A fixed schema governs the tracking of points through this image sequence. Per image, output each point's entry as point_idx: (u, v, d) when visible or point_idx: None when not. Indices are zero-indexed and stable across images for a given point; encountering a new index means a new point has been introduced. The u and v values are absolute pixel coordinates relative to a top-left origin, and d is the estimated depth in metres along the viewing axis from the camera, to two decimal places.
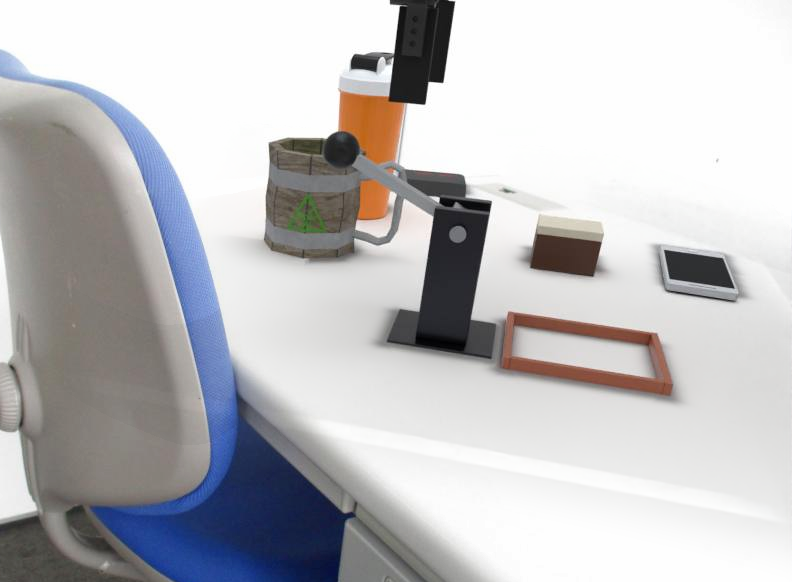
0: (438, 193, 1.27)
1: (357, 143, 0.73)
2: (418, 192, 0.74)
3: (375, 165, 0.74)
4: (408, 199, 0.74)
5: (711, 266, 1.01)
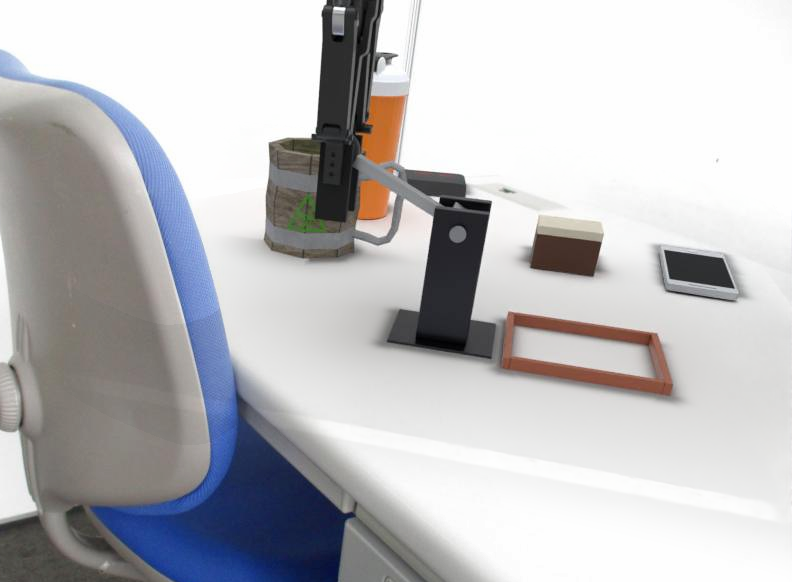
0: (438, 193, 1.27)
1: (357, 143, 0.73)
2: (418, 192, 0.74)
3: (375, 165, 0.74)
4: (408, 199, 0.74)
5: (711, 266, 1.01)
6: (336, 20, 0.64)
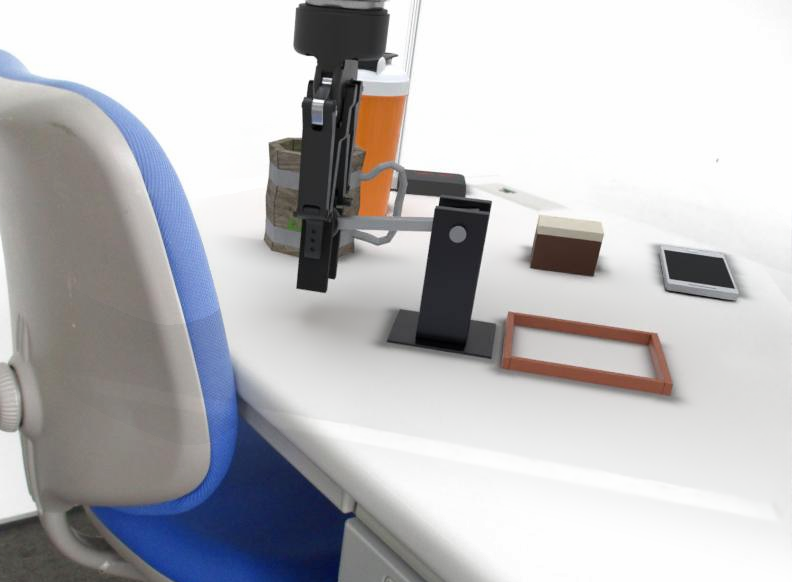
0: (438, 193, 1.27)
1: None
2: (407, 218, 0.75)
3: (357, 217, 0.76)
4: (401, 229, 0.75)
5: (711, 266, 1.01)
6: (315, 112, 0.67)
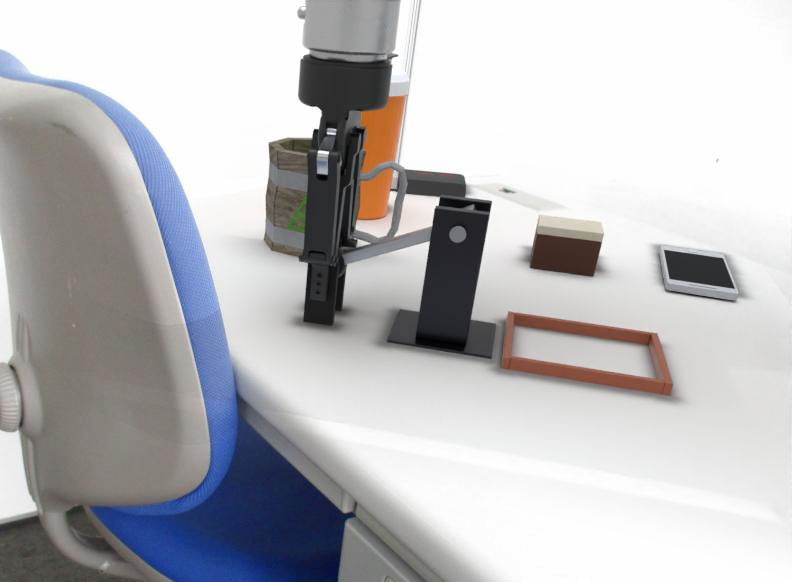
0: (438, 193, 1.27)
1: None
2: (407, 234, 0.76)
3: (360, 248, 0.77)
4: (405, 246, 0.76)
5: (711, 266, 1.01)
6: (320, 162, 0.69)
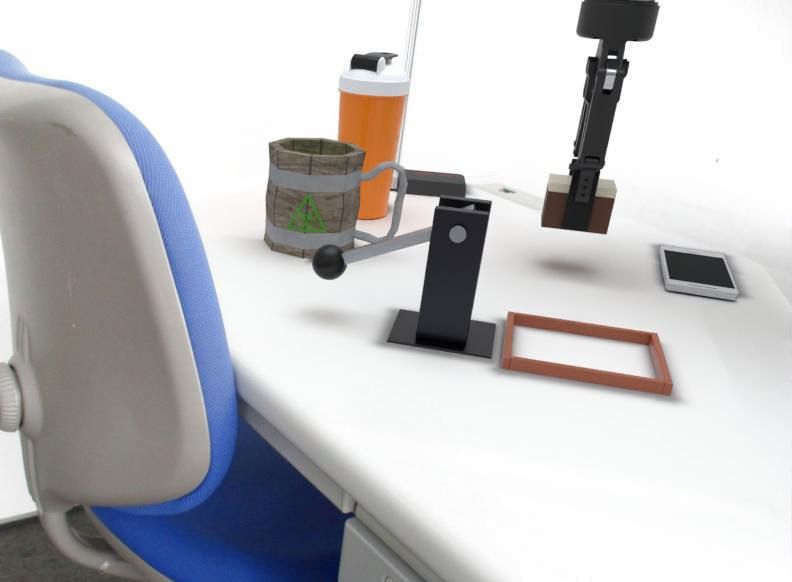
0: (438, 193, 1.27)
1: (333, 247, 0.78)
2: (407, 234, 0.76)
3: (360, 248, 0.77)
4: (405, 246, 0.76)
5: (711, 266, 1.01)
6: (609, 78, 0.86)
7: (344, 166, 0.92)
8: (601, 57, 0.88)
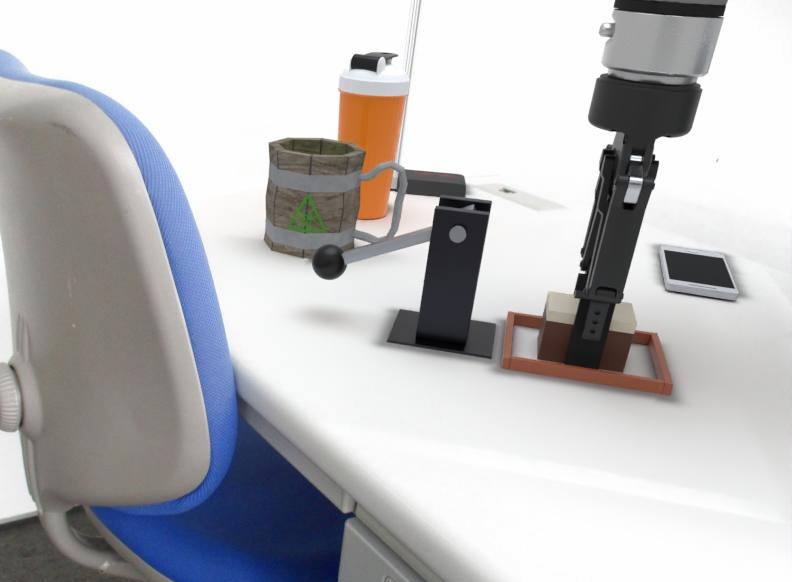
0: (438, 193, 1.27)
1: (333, 247, 0.78)
2: (407, 234, 0.76)
3: (360, 248, 0.77)
4: (405, 246, 0.76)
5: (711, 266, 1.01)
6: (632, 189, 0.63)
7: (344, 166, 0.92)
8: (622, 158, 0.65)
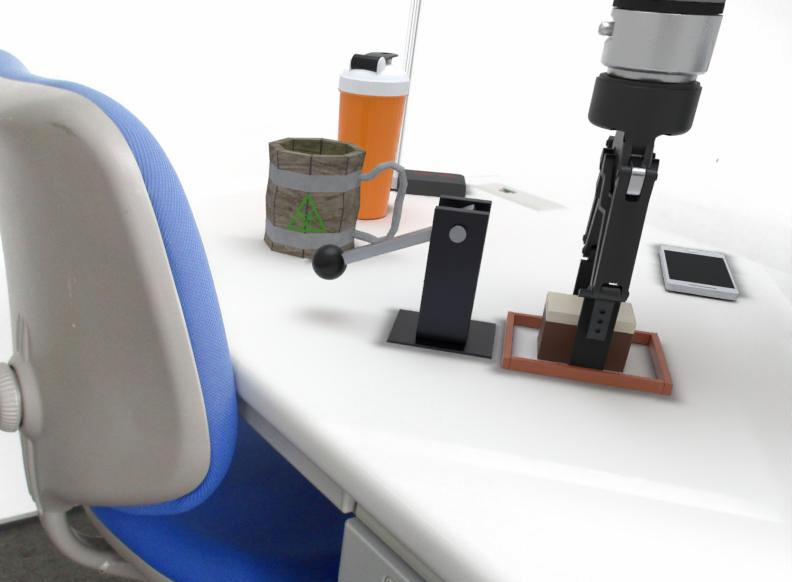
0: (438, 193, 1.27)
1: (333, 247, 0.78)
2: (407, 234, 0.76)
3: (360, 248, 0.77)
4: (405, 246, 0.76)
5: (711, 266, 1.01)
6: (635, 179, 0.62)
7: (344, 166, 0.92)
8: (622, 156, 0.65)
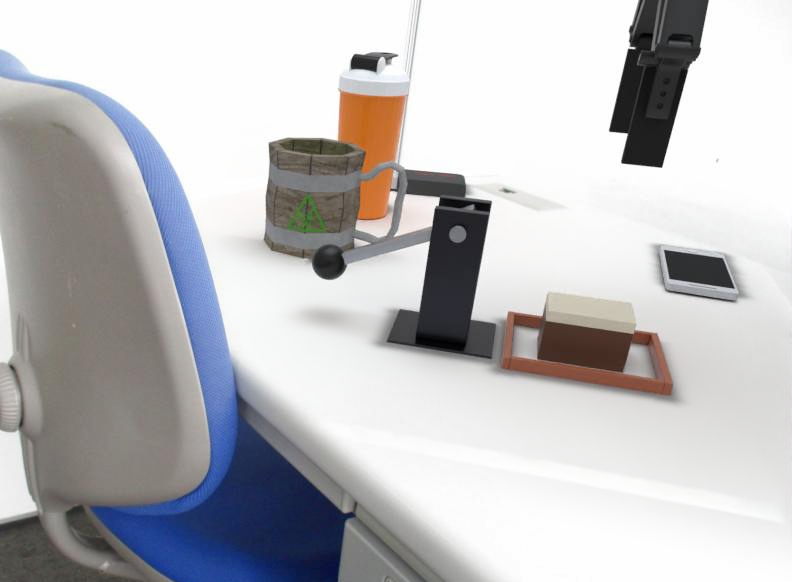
0: (438, 193, 1.27)
1: (333, 247, 0.78)
2: (407, 234, 0.76)
3: (360, 248, 0.77)
4: (405, 246, 0.76)
5: (711, 266, 1.01)
6: None
7: (344, 166, 0.92)
8: None
